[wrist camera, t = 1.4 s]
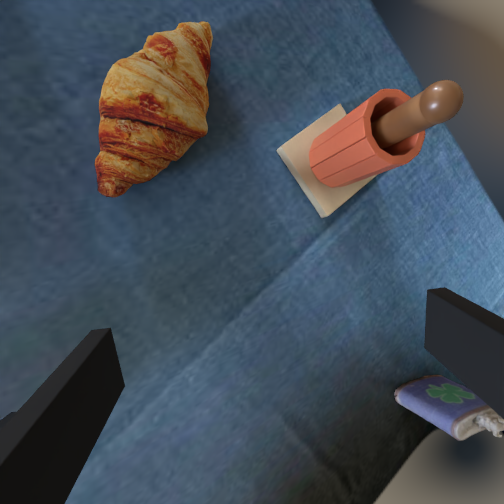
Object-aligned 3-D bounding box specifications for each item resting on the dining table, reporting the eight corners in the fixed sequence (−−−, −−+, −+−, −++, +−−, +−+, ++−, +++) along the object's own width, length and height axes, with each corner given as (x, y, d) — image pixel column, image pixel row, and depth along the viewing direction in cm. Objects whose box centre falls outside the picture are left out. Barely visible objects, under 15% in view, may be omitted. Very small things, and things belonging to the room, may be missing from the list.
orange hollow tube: (298, 150, 35) (350, 112, 26) (338, 121, 37) (400, 75, 28) (329, 198, 37) (390, 178, 27) (366, 167, 38) (436, 139, 29)
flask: (394, 405, 41) (472, 455, 31) (392, 384, 41) (470, 426, 31) (445, 390, 44) (533, 431, 34) (444, 370, 44) (531, 405, 34)
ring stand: (275, 150, 36) (376, 62, 20) (333, 108, 39) (466, -2, 22) (321, 217, 38) (449, 189, 21) (373, 174, 40) (525, 118, 24)
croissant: (177, 41, 36) (146, -35, 29) (253, 61, 34) (241, -16, 26) (90, 194, 33) (28, 155, 25) (168, 228, 31) (126, 196, 23)
